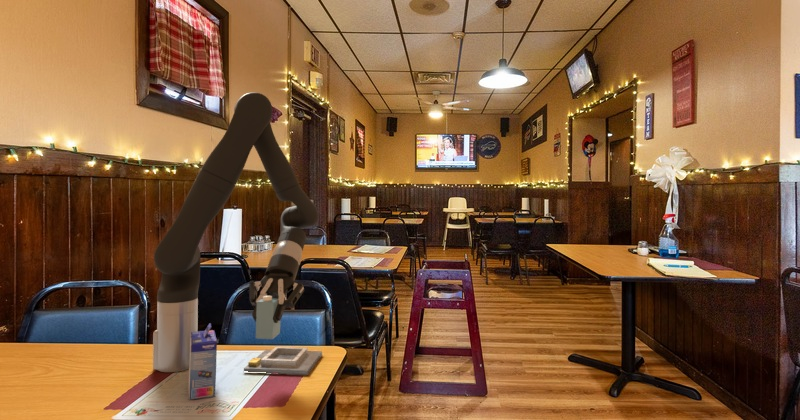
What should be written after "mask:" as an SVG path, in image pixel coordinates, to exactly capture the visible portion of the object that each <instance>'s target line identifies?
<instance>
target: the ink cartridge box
mask: <svg viewBox="0 0 800 420" xmlns="http://www.w3.org/2000/svg"><path fill="white" fill-rule="evenodd" d="M206 326H207V327H206V328H205V330H198V331H197V332H191V334H190V360H189V369H188V384H187V385H188V400H189V401H190V400H198V399H205V398H206V399H207V398H213V397H216V387H217V386H216V383H217V350H218V346H217V345H218V339H217V337H216V332H215V329H214V330H213V329H212V323H211V322H210V323H208V325H206Z"/></svg>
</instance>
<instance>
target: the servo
mask: <svg viewBox="0 0 800 420" xmlns="http://www.w3.org/2000/svg"><path fill="white" fill-rule="evenodd" d="M278 304H279V297H272V296H263V299H261V300H259V301H257V310H256V316H257V318H256V322H255V339H257V340H258V339H260V340H261V339H262V340H274V339H275V338H276V337H277V336H278V335H279V334H280V333H281V322H282V321H281V320H282V319H281V320H280V321H278V323H274V320H273V316H274V313H275V310H276V307H277V305H278Z"/></svg>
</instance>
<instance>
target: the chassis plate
mask: <svg viewBox="0 0 800 420" xmlns="http://www.w3.org/2000/svg"><path fill="white" fill-rule="evenodd" d="M322 356H323V350H309V349H308V347H295V346H292V347H291V346H275V347H274V348H273V349H270V348H268V349H267V348H266V349H264V351H262V352H261V353H259V355H258V356H257V357H253V358H252V359H251V360H249V361H248V362H247V363H248V364H247V365H246V366H245V367H243V372H244V371H248V372H266V373H278V374H277V375H279V374H287V376H306V377H307V376H308V375H309V374H310V373H311V371H312V370H313V368H314V367H315V366H316V364H317V363H318V362H319V360H320V358H322Z"/></svg>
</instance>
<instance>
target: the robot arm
mask: <svg viewBox="0 0 800 420" xmlns="http://www.w3.org/2000/svg"><path fill="white" fill-rule="evenodd" d="M273 111H274V110H273V105H272V103H271V100H270V99H269V98H268V96H267V95H265V94H262V93H260V92H256V91H255V92H254V91H253V92H248V93H245V94H243V95H241V96H240V98H238V100H236V103H235V105H234V108H233V115H232V117H231V120H230V121H229V124H228V126H227V129H226V130H225V133H224V135H223V136H222V138H221V139H220V141H219V142H218V143H217V144H216V146H215V147H214V148H213V150H212V151H211V153H210V154H209V156H208V157H207V158H206V159H205V162H204V163H203V165H202V166H201V168H200V170H199V172H198V173H197V176H196V177H195V180H194V181H193V184H192V185H191V187H190V189H189V192H188V194H187V195H186V197H185V200H184V201H183V203H182V206H181V209H180V210H179V213H178V215H177V217H176V219H175V220H174V221H173V223H172V225H171V226H170V228H169V229H168V230H167V232H166V234H165V235H164V236H163V238H162V239H161V241H160V242H159V243H158V245H157V247H156V248H155V251H154V252H153V253H154V254H153V262H154V265H155V267H156V268H157V270H158V271H159V272H160V273H161V280H160V284H159V286H158V289H157V292H156V293H157V296H156V299H157V303H156V304H157V305H156V307H157V308H156V310H157V311H156V312H157V317H156V322H157V323H156V330H154V331H153V334H152V339H153V340H152V345H153V346H152V347H153V348H152V369H153V370H157V371H159V372H161V373H175V372H183V371H186V370H189V360H190V334H191V332H197V331H199V330H198V323H199V322H198V321H199V320H198V318H199V315H198V313H199V311H198V310H199V309H198V305H199V299H198V297H199V295H198V294H199V288H200V284H201V283H200V280H201V250H200V246H199V244H200V243H201V240H202V238H203V237H204V234H205V232H206V230H207V229H208V226H209V225H210V224H211V223H212V222H213V220H215V218H216V216H217V215H218V214H219V213H220V211H221V210H222V209H223V208H224V206H225V204H226V203H227V202H228V201H229V199H230V197H231V195H232V193H233V191H234V189H235V188H236V185H237V183H238V181H239V178H240V177H241V175H242V173H243V170H244V169H245V166H246V163H247V161H248V158H249V155H250V153H251V151H252V149H253V148H254V149H255V150H256V152H257V154H258V156H259V158H260V162H261V163H262V166H263V168H264V171H265V173H266V175H267V178H268V179H269V182H270V185H271V187H272V189H273V191H274V192H275V195H276V197H277V199H278V200H279V201H280V202H291V203H292V204H294V205H293V206H290V207H286V208H285V209H284V210H283V211H282V213H281V215H280V234H279V237H278V240H277V242H276V246H274V249H273V251H272V253H271V256H270V259H269V262H268V265H267V267H266V270H265V273H264V276H263V277H262V278H261V280H260V281H254V280H250V281H249V283H248V285H249V287H248V288H249V289H248V290H249V292H248V293H249V297H248V298H249V301H250V304H251V306H253V307H254V308H253V310H252V314H251V315H252V316H251V317H252V318H253V320H254V322H255V323H256V318H257V316H256V310H257V301H259V300H261V299H263V296H272V298H279V304H278V305H277V307H276V310H275V313H274V316H273V320H274V323H278V321H280V320H282V318H283V315H284V312H285V311H284V310H285V309H287V308H290V309H292V308H293V307H294V306H296V303H297V302H298V300H299V299H300V297H301V296H302V295H303V293H304V292H305V288H304V285H303V283H302V282H299V283H297V282H296V281H295V280H296V277H297V274H298V271H299V267H300V265H301V261H302V256H303V255H302V254H303V251H304V247H305V243H306V240H307V235H306V232H305V231H304V229H306V228H311V227H313V226H315V225H316V224H317V223H318V222H319V211H318V209H317V206H316V205H315V203H314V202H313V201H312V200H311V199H310V197H309V196H308V195H307V193H306V191H304V190H303V188H302V186H301V185H300V183H299V180H298V178H297V176H296V174H295V172H294V169H293V167H292V165H291V164H290V162H289V160H288V158H287V156H286V155H285V154H284V152H283V150H282V149H281V147H280V145H279V143H278V141H277V139H276V136H275V134H274V131H273V128H272V125H271V120H272V118H273ZM261 287H262V289H261V290H260V288H261ZM259 290H260V292H259ZM290 291H292V292H291V293H290V295H288V297H287V294H288V293H289V292H290ZM258 292H259V295H258ZM280 322H281V321H280Z"/></svg>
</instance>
